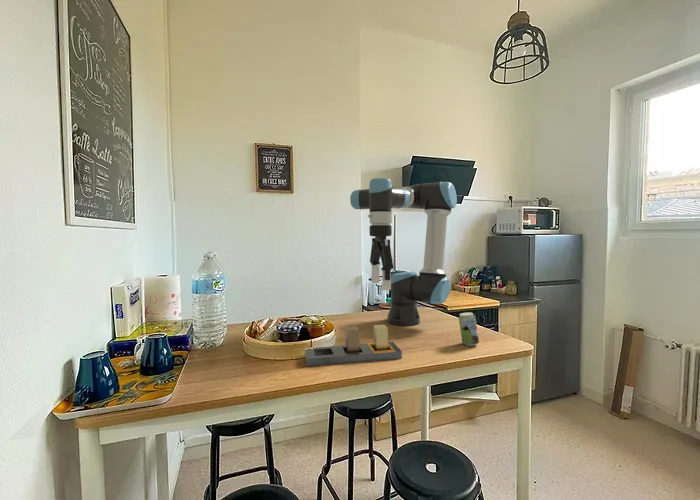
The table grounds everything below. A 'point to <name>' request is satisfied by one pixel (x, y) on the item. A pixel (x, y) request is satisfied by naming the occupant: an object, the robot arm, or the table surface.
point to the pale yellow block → (380, 338)
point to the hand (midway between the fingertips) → (380, 286)
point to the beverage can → (468, 329)
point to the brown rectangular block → (352, 340)
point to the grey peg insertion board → (350, 354)
